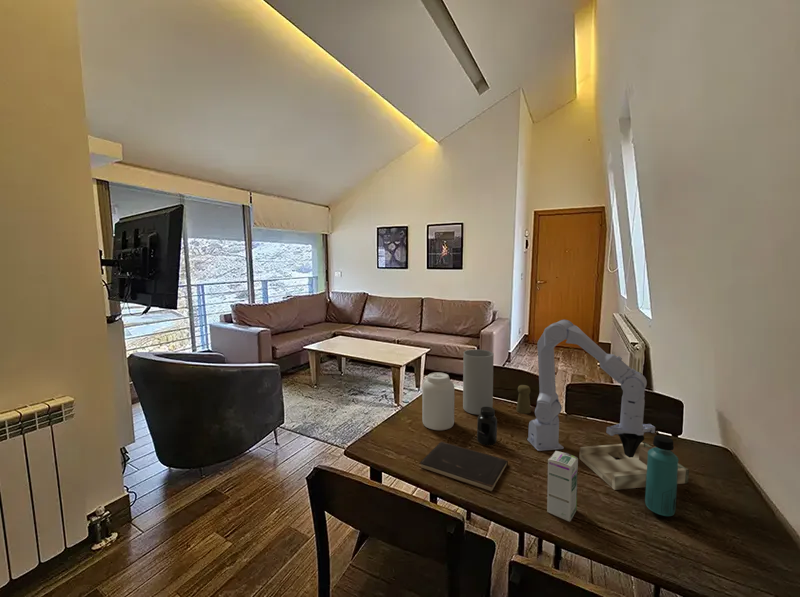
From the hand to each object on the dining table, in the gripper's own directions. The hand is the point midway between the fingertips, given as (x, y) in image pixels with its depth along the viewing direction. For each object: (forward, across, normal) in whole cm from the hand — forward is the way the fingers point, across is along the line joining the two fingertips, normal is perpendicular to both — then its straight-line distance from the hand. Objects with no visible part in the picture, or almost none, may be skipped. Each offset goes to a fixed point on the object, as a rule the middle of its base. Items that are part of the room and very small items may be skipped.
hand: (628, 455), depth 109 cm
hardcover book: (+6, -49, +9) cm, 50 cm away
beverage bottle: (+5, -6, -18) cm, 20 cm away
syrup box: (+5, -30, -14) cm, 34 cm away
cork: (+5, -11, +46) cm, 48 cm away
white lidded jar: (+6, -50, +39) cm, 64 cm away
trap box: (+5, 0, 0) cm, 5 cm away
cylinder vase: (+6, -30, +50) cm, 59 cm away
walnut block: (+3, +8, 0) cm, 9 cm away
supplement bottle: (+5, -36, +23) cm, 43 cm away
